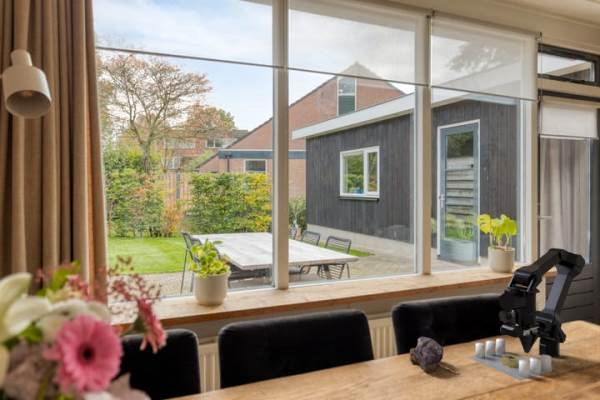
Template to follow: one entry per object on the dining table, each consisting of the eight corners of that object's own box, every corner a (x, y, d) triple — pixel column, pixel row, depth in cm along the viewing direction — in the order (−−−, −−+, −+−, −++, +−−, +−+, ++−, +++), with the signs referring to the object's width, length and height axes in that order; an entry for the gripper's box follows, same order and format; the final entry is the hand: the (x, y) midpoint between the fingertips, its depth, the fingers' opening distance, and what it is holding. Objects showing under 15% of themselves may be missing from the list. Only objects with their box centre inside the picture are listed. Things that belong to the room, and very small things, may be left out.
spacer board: (501, 352, 153) (501, 337, 153) (554, 373, 135) (554, 356, 135) (468, 360, 146) (468, 344, 146) (519, 383, 128) (519, 365, 128)
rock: (420, 377, 136) (449, 374, 137) (421, 353, 134) (450, 350, 135) (406, 358, 147) (433, 355, 148) (406, 335, 146) (434, 333, 147)
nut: (508, 360, 143) (508, 353, 143) (521, 366, 138) (521, 358, 138) (498, 362, 141) (498, 355, 141) (512, 368, 137) (512, 360, 137)
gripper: (523, 298, 154) (524, 341, 154) (487, 304, 146) (487, 349, 147) (553, 305, 144) (553, 351, 144) (515, 312, 136) (515, 360, 136)
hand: (526, 352), depth 143 cm, fingers closed
